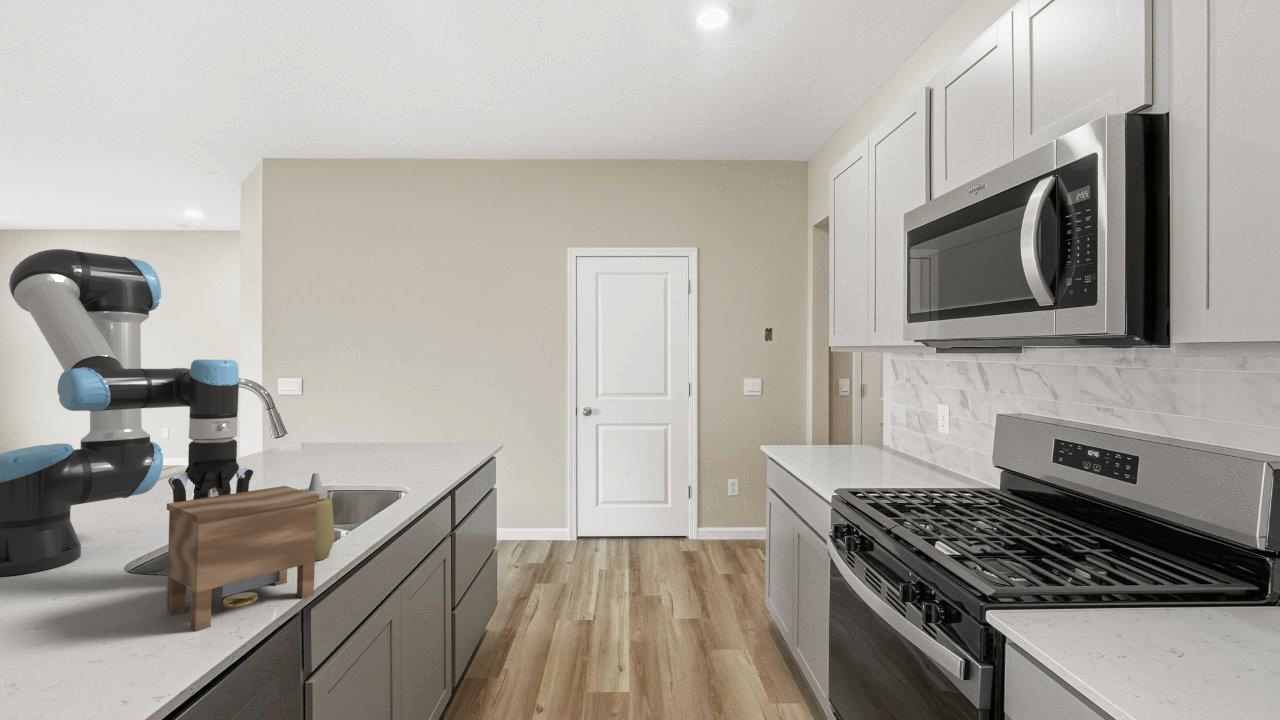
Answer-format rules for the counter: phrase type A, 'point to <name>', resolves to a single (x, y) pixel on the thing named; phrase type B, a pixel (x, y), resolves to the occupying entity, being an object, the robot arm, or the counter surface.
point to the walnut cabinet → (238, 544)
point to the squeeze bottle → (322, 519)
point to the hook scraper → (249, 584)
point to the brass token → (240, 600)
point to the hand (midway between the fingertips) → (210, 562)
